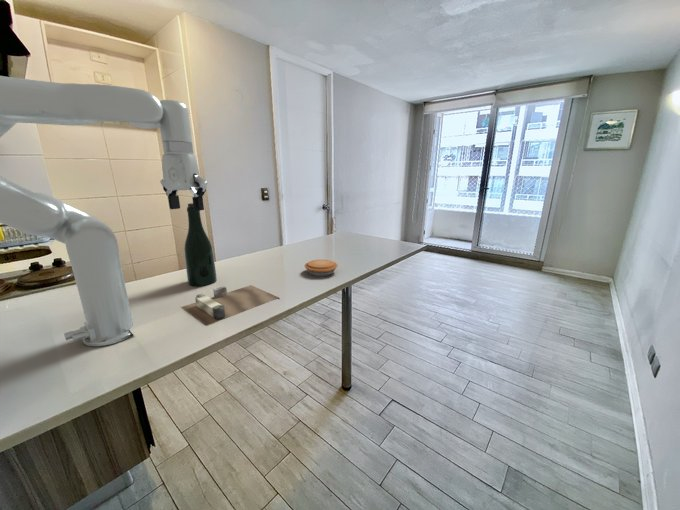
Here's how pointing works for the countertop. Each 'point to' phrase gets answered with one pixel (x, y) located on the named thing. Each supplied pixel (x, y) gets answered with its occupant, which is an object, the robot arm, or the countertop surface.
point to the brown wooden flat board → (231, 302)
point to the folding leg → (210, 306)
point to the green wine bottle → (198, 252)
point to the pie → (321, 267)
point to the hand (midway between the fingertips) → (187, 209)
